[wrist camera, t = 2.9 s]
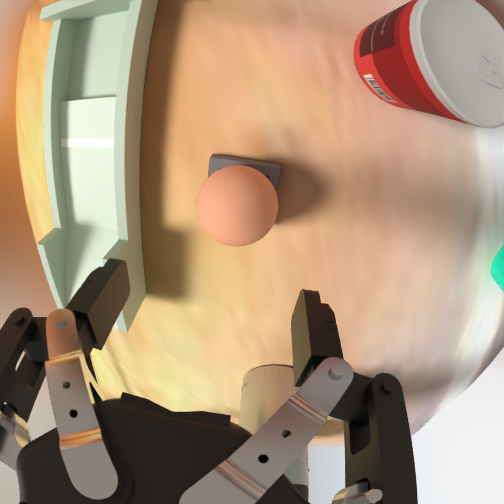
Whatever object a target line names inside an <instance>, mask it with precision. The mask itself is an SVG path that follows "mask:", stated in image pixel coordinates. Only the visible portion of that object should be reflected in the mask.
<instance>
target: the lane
mask: <svg viewBox="0 0 504 504" xmlns="http://www.w3.org/2000/svg"><path fill="white" fill-rule="evenodd" d="M158 1H159V0H61V1H59V2H56V3H54V4H51V5H49V6H47V7H44V8H42V11H41V15H40V19H39V20H42V21H51V22H53V27H52V32H51V38H50V44H49V50H48V58H47V66H46V76H45V90H44V148H45V163H46V173H47V182H48V190H49V197H50V204H51V210H52V216H53V221H54V226H55V228H54V229H53V230H52V231H51V232H49V233H48V234H47V235H46V236H45V237H44V238H43V239H42V240H40V241H39V242H38V243H37V247H38V250H39V254H40V257H41V261H42V264H43V267H44V270H45V274H46V277H47V280H48V283H49V286H50V288H51V291H52V294H53V297H54V299H55V302H56V305H57V307H58V309H61V308H64V309H65V307H66V306H67V305H68V303H69V302H70V300H71V299H72V297H73V296H74V295H75V293H76V292H77V290H78V289H79V288H80V287H81V285H82V283H83V282H84V281H85V279H86V278H87V277H88V275H89V274H90V273H91V272H92V271H93V270H95V269H96V268H98V267H99V266H100V267H103V266H104V264H105V263H106V262H107V260H108V259H109V258H115V259H120V260H125V261H126V263H127V269H128V276H129V282H130V294H129V297H128V299H127V301H126V303H125V305H124V307H123V309H122V311H121V313H120V314H119V316H118V318H117V320H116V322H115V324H114V326H113V329H116V330H119V331H123V332H128V330H129V328H130V326H131V324H132V322H133V320H134V318H135V316H136V314H137V312H138V310H139V308H140V306H141V304H142V302H143V300H144V298H145V296H146V294H147V293H146V284H145V274H144V264H143V252H142V237H141V218H140V138H141V119H142V106H143V94H144V85H145V76H146V68H147V60H148V54H149V47H150V41H151V35H152V30H153V24H154V19H155V14H156V10H157V5H158Z"/></svg>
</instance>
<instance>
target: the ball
mask: <svg viewBox="0 0 504 504" xmlns="http://www.w3.org/2000/svg"><path fill="white" fill-rule="evenodd" d="M277 213H278V198H277V194H276V191H275V189H274V187H273V185H272V183H271V182H270V181H269V180H268V178H267V177H266V176H265V175H263V174H262V173H261V172H259V171H258V170H256V169H254V168H251V167H248V166H242V165H233V166H228V167H224V168H222V169H220V170H217V171H216V172H214V173H213V174H212V175H211V176H209V177H208V178H207V180H206V181H205V182H204V183H203V185H202V187H201V189H200V191H199V194H198V198H197V214H198V218H199V221H200V223H201V225H202V227H203V228H204V230H205V231H206V232H207V233H208V234H209V235H210V236H211V237H212V238H213V239H215V240H216V241H218V242H220V243H222V244H225V245H229V246H245V245H249V244H252V243H254V242H256V241H258V240H260V239H261V238H263V237H264V236H265V235H266V234H267V233H268V232H269V231H270V229H271V228H272V226H273V224H274V222H275V220H276V217H277Z"/></svg>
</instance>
